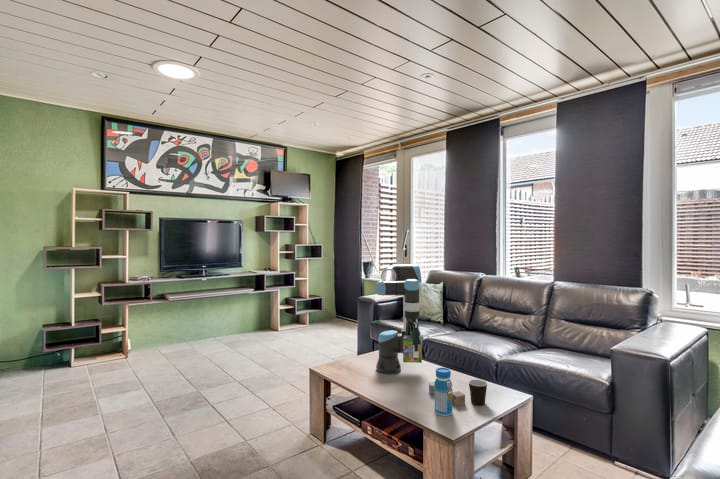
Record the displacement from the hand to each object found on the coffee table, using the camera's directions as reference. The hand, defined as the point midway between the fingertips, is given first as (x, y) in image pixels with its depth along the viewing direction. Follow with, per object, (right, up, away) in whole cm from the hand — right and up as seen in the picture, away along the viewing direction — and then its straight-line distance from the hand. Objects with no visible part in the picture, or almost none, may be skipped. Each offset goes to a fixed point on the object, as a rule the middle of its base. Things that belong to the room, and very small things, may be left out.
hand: (412, 353), depth 195 cm
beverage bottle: (+12, -23, -15) cm, 30 cm away
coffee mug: (+32, -23, -4) cm, 40 cm away
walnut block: (+21, -23, -6) cm, 32 cm away
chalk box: (0, -3, 0) cm, 3 cm away
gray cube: (+12, -23, +7) cm, 27 cm away
